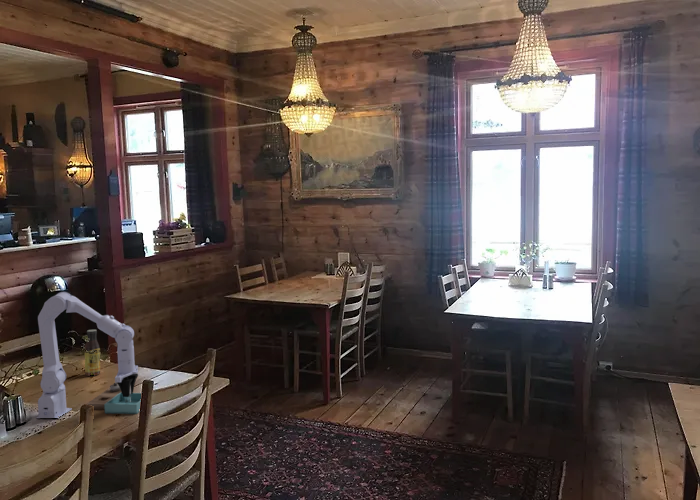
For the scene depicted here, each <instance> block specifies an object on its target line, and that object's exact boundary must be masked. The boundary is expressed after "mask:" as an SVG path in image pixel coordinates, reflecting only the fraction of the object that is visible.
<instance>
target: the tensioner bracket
mask: <svg viewBox="0 0 700 500" xmlns="http://www.w3.org/2000/svg"><path fill="white" fill-rule="evenodd" d="M119 393H122V392H121V389H120V387H119V385H118V384H117V382H113V384H110V386H109V387H108V388H107V389H105V390H104V391H102V392H101V393H100V394H98V395H96V396H95V397H94V398H93V399H90V400H89V401H88V402H87V403H86V405H87V404H88V405H92V406H94V409H93V410H105V405H104V404H105V403H107V402H108V401H109V400H111V399H112V398H113V397H115V396H116V395H117V394H119Z"/></svg>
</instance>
